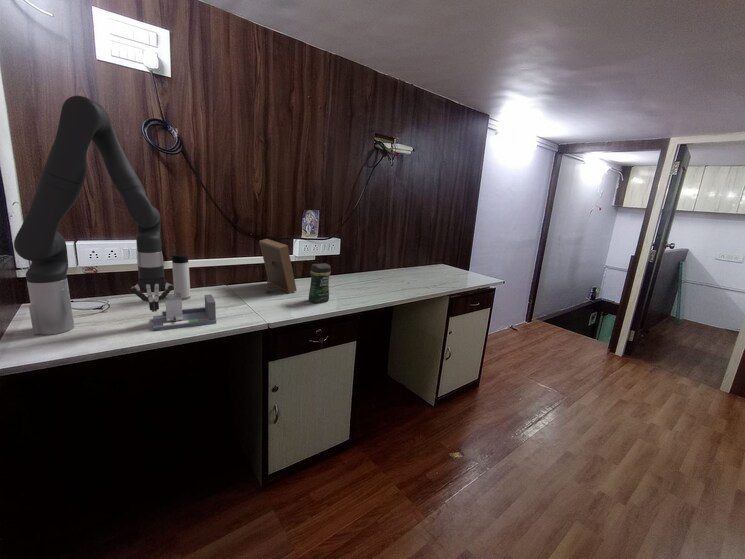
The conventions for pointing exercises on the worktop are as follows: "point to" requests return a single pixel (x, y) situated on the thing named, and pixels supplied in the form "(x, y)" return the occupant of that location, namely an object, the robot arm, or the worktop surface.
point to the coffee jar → (319, 282)
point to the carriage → (173, 307)
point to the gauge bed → (189, 317)
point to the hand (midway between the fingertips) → (154, 310)
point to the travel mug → (181, 276)
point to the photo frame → (278, 265)
